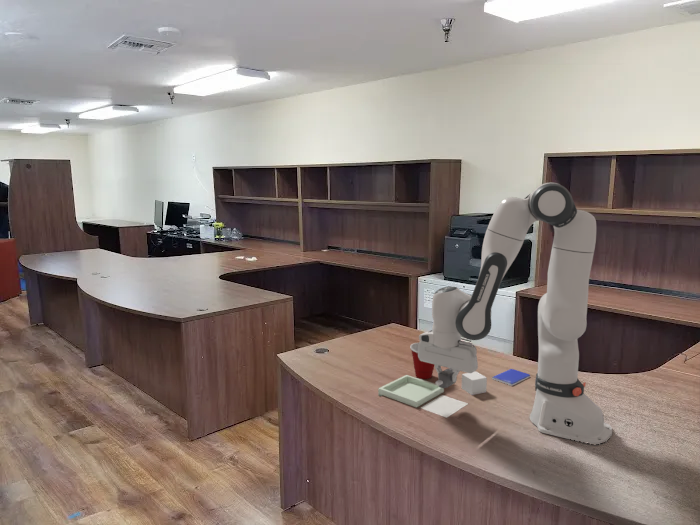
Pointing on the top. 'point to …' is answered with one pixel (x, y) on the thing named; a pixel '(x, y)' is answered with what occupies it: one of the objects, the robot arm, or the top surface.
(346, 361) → the top surface
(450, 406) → the mat
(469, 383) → the white cube
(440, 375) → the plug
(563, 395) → the robot arm
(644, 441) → the top surface
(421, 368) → the plastic cup
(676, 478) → the top surface
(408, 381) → the tray
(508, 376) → the hard drive
